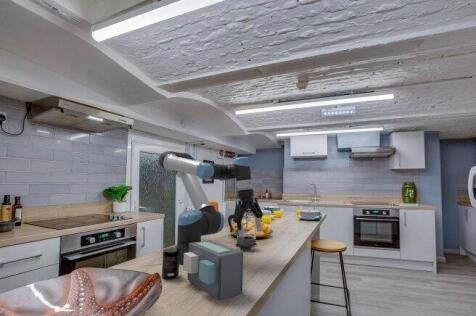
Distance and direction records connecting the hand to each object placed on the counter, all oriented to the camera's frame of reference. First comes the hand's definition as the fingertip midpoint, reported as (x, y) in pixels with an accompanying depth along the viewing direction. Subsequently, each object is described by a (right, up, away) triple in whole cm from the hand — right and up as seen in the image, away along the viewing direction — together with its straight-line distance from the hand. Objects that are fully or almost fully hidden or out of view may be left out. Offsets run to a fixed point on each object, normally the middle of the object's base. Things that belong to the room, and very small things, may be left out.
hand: (251, 234), depth 127 cm
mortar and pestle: (-3, -17, +26) cm, 31 cm away
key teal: (-15, -6, -35) cm, 38 cm away
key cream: (-23, -6, -25) cm, 34 cm away
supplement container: (-33, -12, -19) cm, 40 cm away
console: (-15, -11, -27) cm, 33 cm away
